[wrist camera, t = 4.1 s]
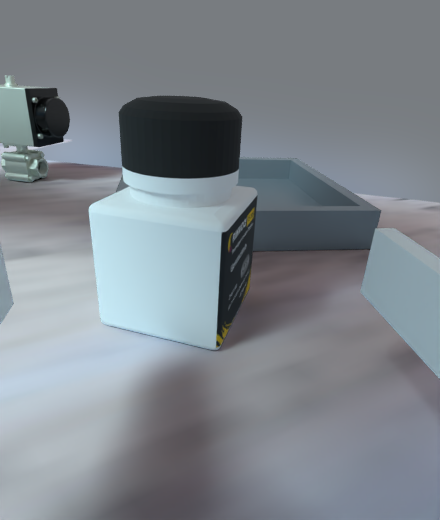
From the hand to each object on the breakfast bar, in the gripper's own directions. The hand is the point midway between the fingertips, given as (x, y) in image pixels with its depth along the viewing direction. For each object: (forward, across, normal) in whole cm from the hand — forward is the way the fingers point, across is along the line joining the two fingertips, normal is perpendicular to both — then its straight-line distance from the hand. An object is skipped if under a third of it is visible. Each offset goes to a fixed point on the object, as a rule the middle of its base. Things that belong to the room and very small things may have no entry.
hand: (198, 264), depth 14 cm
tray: (+27, +6, -7) cm, 29 cm away
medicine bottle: (+8, 0, -7) cm, 11 cm away
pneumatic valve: (+40, -18, -7) cm, 45 cm away
